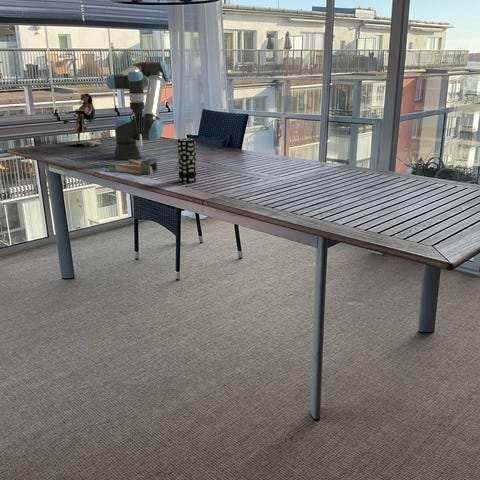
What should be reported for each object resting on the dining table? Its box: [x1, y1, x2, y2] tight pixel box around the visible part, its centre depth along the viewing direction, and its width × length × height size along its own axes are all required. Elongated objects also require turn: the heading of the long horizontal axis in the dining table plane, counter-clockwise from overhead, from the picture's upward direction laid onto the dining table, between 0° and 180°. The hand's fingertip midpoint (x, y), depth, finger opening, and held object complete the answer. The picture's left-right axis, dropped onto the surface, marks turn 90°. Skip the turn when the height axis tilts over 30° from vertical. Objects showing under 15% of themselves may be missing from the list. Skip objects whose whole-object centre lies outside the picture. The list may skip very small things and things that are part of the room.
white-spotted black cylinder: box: [177, 137, 197, 184], centre depth 244 cm, size 8×8×20 cm
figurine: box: [62, 92, 104, 148], centre depth 348 cm, size 25×24×35 cm
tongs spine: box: [108, 162, 153, 175], centre depth 268 cm, size 5×24×4 cm, turn 71°
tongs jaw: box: [128, 159, 142, 166], centre depth 275 cm, size 4×20×4 cm, turn 36°
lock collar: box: [140, 158, 158, 175], centre depth 266 cm, size 10×4×6 cm, turn 161°
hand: (139, 146), depth 283 cm, fingers closed
